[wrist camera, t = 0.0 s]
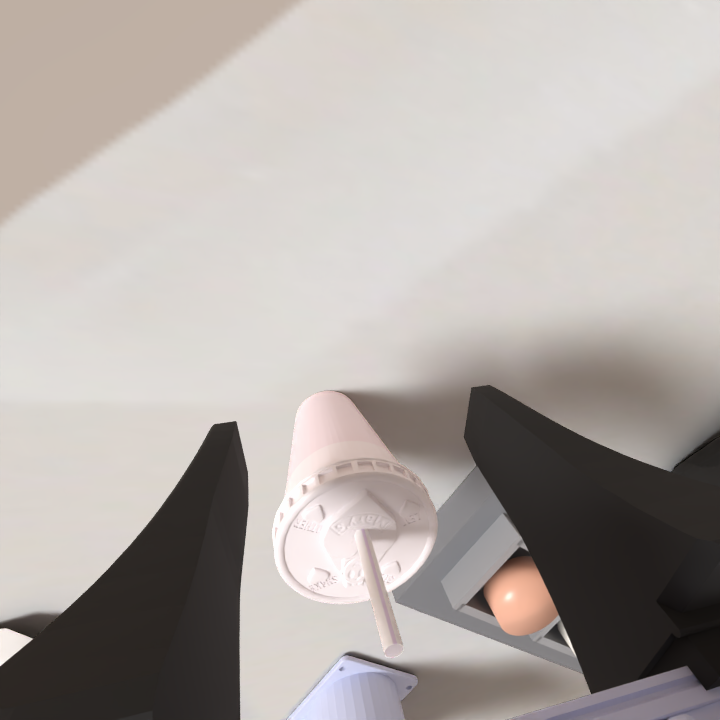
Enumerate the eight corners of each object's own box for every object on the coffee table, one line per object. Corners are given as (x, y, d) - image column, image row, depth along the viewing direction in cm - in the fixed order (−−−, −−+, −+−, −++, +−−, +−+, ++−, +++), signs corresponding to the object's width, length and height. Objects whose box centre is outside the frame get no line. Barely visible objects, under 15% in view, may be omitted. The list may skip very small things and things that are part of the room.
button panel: (589, 655, 39) (627, 709, 35) (385, 571, 29) (404, 631, 25) (680, 568, 37) (731, 614, 33) (492, 447, 27) (532, 490, 23)
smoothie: (385, 370, 24) (521, 565, 11) (372, 463, 26) (474, 718, 13) (273, 367, 22) (275, 590, 9) (270, 466, 24) (268, 758, 11)
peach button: (513, 613, 28) (531, 642, 26) (470, 595, 26) (485, 624, 24) (557, 569, 27) (577, 595, 25) (514, 546, 25) (534, 573, 23)
